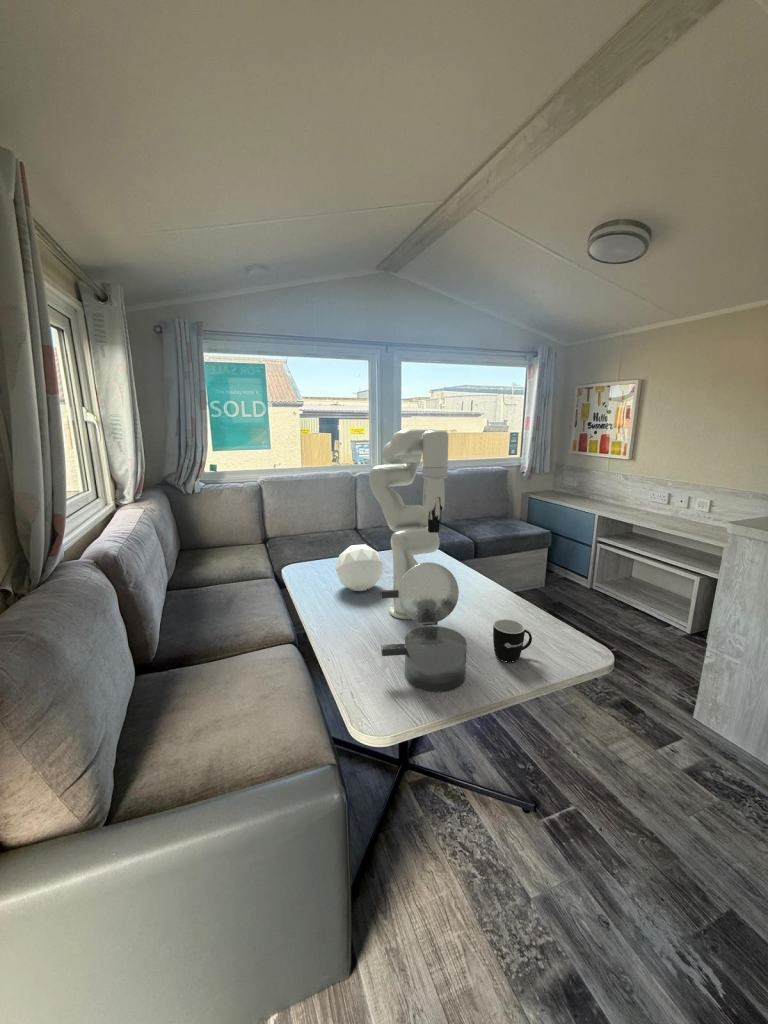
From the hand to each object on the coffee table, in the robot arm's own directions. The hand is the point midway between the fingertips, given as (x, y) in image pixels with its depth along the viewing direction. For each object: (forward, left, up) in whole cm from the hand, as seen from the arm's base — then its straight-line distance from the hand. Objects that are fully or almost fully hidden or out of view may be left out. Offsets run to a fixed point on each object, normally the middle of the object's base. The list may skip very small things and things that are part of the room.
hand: (433, 531), depth 130 cm
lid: (+9, -6, -16) cm, 20 cm away
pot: (+19, -6, -36) cm, 41 cm away
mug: (+13, +22, -36) cm, 44 cm away
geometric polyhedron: (-44, -21, -36) cm, 60 cm away
